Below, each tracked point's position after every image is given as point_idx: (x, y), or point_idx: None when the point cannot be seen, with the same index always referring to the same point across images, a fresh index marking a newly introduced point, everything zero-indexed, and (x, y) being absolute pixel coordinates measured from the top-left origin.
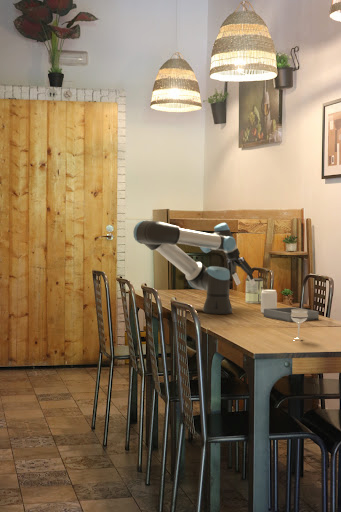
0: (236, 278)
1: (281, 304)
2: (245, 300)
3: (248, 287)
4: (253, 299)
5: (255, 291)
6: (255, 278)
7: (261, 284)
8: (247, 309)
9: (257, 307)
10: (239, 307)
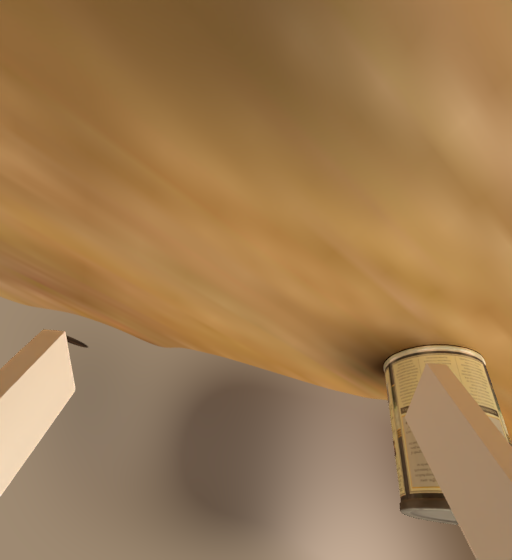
0: (474, 488)
1: (292, 376)
2: (480, 362)
3: None
4: (414, 368)
5: None
6: None
7: (397, 473)
8: (166, 103)
9: (252, 255)
10: (326, 149)
